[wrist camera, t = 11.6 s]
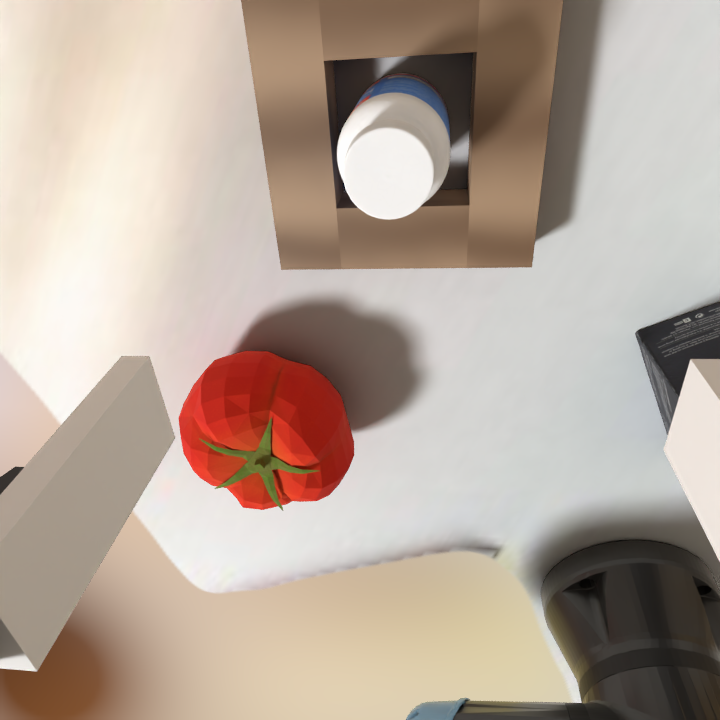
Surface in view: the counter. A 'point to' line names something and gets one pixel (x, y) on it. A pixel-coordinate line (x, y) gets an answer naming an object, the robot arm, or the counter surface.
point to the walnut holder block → (486, 138)
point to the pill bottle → (395, 146)
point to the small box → (678, 353)
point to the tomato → (266, 430)
